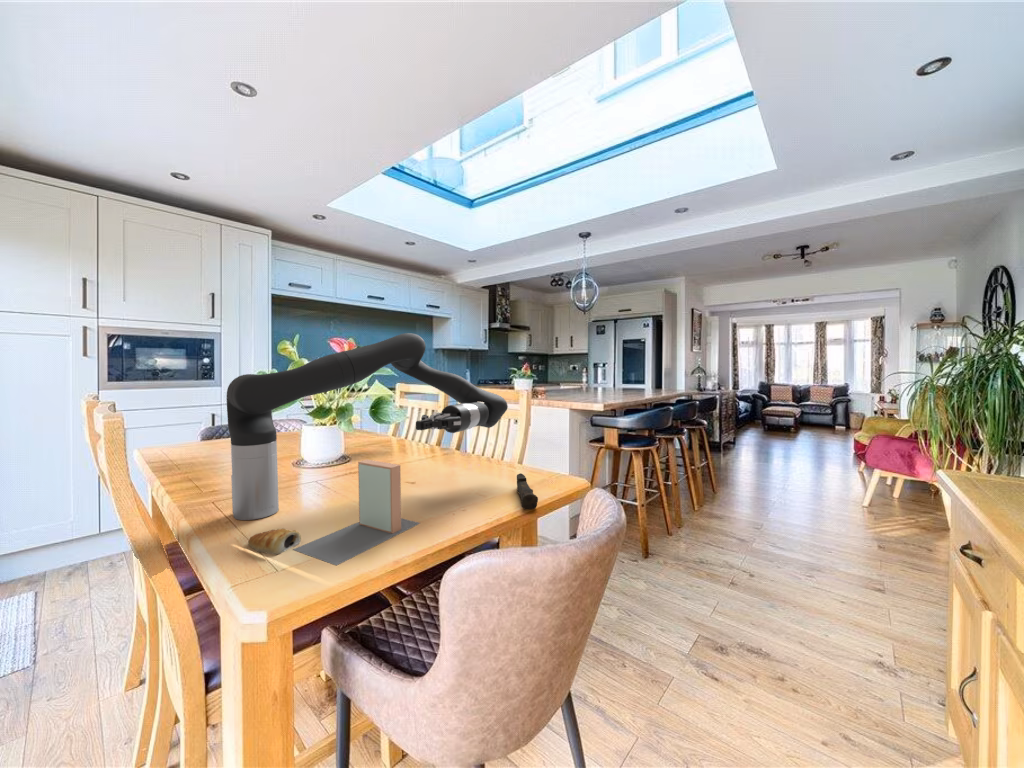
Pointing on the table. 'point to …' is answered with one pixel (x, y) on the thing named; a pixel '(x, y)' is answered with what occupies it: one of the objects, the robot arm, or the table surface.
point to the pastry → (275, 541)
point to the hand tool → (526, 493)
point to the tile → (379, 495)
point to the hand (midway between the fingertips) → (418, 425)
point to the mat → (349, 542)
